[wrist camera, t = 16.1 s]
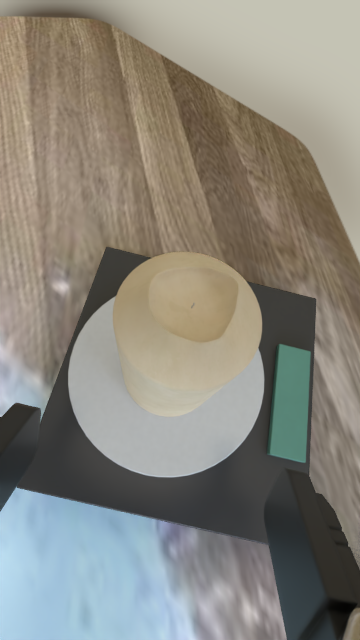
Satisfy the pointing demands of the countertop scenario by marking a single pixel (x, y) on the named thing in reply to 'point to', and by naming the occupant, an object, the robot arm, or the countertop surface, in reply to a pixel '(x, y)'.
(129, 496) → the kitchen scale
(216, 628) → the countertop surface
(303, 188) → the countertop surface
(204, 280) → the candle
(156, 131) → the countertop surface
